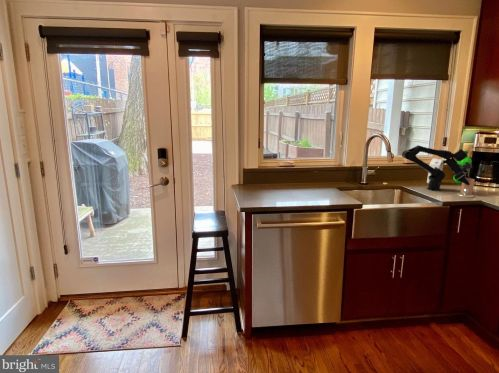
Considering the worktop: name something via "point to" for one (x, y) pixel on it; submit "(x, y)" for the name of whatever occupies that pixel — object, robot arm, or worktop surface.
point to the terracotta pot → (468, 186)
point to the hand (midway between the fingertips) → (470, 183)
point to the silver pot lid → (465, 194)
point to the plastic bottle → (463, 164)
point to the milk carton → (435, 165)
